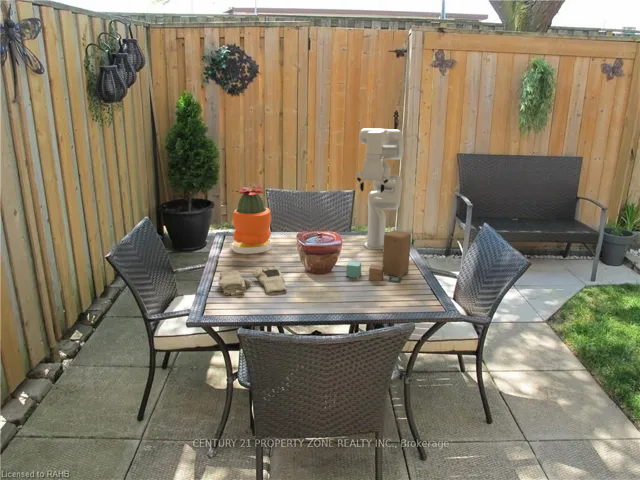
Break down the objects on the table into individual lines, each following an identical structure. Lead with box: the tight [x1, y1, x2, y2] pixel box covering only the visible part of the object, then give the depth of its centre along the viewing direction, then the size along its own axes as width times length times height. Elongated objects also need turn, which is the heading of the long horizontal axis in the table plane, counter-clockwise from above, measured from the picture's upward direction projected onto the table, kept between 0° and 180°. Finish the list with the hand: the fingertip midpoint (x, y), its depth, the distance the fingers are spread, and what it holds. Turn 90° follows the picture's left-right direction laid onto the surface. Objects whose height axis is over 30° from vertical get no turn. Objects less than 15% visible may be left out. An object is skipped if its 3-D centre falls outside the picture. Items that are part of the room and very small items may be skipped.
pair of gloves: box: [218, 265, 288, 297], centre depth 247 cm, size 30×26×5 cm
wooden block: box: [381, 229, 412, 278], centre depth 261 cm, size 10×10×20 cm
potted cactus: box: [231, 184, 272, 255], centre depth 287 cm, size 22×22×35 cm
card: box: [387, 275, 403, 284], centre depth 254 cm, size 6×6×1 cm
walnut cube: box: [368, 263, 384, 282], centre depth 255 cm, size 6×6×6 cm
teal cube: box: [345, 260, 362, 278], centre depth 259 cm, size 6×6×6 cm
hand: (372, 191), depth 267 cm, fingers open, 9 cm apart
